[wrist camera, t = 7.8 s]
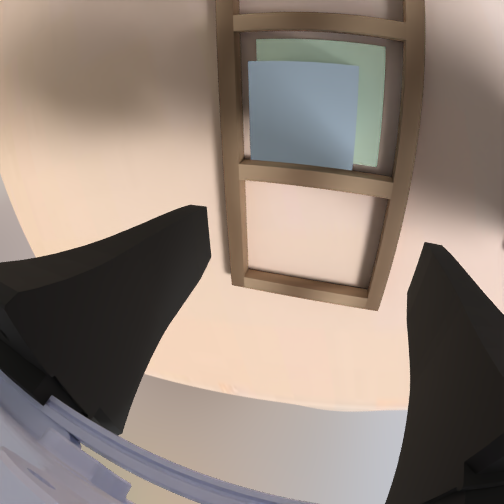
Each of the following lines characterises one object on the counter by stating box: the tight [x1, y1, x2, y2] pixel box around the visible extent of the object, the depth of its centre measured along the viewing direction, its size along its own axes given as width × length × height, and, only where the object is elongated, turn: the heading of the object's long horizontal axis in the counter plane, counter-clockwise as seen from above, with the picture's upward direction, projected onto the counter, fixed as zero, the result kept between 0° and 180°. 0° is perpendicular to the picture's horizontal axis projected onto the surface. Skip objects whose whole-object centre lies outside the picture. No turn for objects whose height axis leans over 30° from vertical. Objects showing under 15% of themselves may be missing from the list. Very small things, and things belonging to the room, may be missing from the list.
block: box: [248, 61, 359, 170], centre depth 13 cm, size 4×4×6 cm
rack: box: [215, 0, 425, 311], centre depth 15 cm, size 11×27×1 cm, turn 1°
